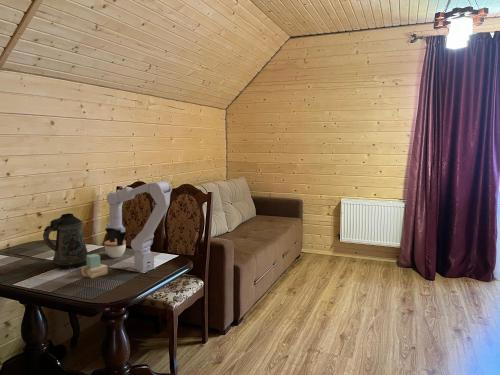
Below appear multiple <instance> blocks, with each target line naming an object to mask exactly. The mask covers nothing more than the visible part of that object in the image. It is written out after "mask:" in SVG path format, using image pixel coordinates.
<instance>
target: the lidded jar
mask: <svg viewBox="0 0 500 375" xmlns="http://www.w3.org/2000/svg"><path fill="white" fill-rule="evenodd" d="M103 245H104V251H105V253H106V255H107V256H108V257H109V258H112V259H117V258H120V257H122V256H123V254H124V253H126V248H127V247H126V246H127V240H125V239H124V240H123V244H122V245H121V246H118V245H117V239H116V237H115V241H114V242H110V241H109V239H108V240H105V241H104V243H103Z"/></svg>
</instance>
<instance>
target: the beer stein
mask: <svg viewBox="0 0 500 375" xmlns="http://www.w3.org/2000/svg"><path fill="white" fill-rule="evenodd" d="M49 224H50V225H49V226H47V227H45V228H44V230H43V233H42V234H43V235H42V239H43V241H44V243H45V245H46V246H47V247H48V248H49V249H51V250H52V251H53V252H54V256H53V257H52V263H53V266H54V268H55V269H58V270H76V269H79V268H81V267H82V266H86V265H87V259H86V255H90V253H89V250H88V248H87V245H86V242H85V238H84V237H85V236H84V233H83V226H84V222H83V221H82V220H81V219H80V218H78V217H76V216H75V215H74V214H73V213H70V212H69V213H64V214H61V216H60V217H58V218H55V219H52V220H51V221H50V222H49ZM52 232H56V238H55V244H54V243H53V242H52V241H51V240H50V234H51V233H52Z"/></svg>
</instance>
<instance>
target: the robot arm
mask: <svg viewBox="0 0 500 375" xmlns="http://www.w3.org/2000/svg"><path fill="white" fill-rule="evenodd" d="M172 191H173V189H172V187H171V184H170V182H169V181H167V180H161V181H153V182H148V183H145V184H142V185H139V186H137V187H135V188H133V187H130V186H124V187H123V188H122V189H117V190H116V191H112V192H110V193H108V194H107V196H106V203H108V204H109V207H108V208H109V209H108V210H109V215H108V216H109V222H107V223H106V227H107V228H105V229H104V230H105V232H106V234H107V236H108V237H107V238H108V240H109V241H110V242H114V241H115V238H116V239H117V245H118V246H121V245H122V244H123V240H125V237H126V235H127V234H128V231H126V227H124V225H123V203H124V202H127V201H129V200H133V199H135V197H136V195H139V194H144V193H147V194H150V196H151V197H152V199H153V200H154V203H156V204H155V207H153V209H152V212H151V213H150V215H149V217H148V219H147V221H146V222H145V224H144V226H143V228H142V229H141V231H140V232H139V233H137V234H136V236H135V237H134V238H133V239H132V240H131V242H130V246H131V249H132V250H133V253H134V255H133V256H134V257H133V258H134V265H131V266H130V268H131V269H133V270H135V271H138V272H140V273H144V272H148V271H150V270H151V271H152V270H155V269H157V268H156V266H155V256H154V253H152V251H151V246H152V245H153V242H154V237H155V235H154V233H155V231H156V229H157V228H158V227H159V224H160V222H161V221H162V219H163V218H164V215H165V214H166V212H167V210H168V208H169V207H170V202H171V193H172Z"/></svg>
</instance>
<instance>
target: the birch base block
mask: <svg viewBox="0 0 500 375" xmlns="http://www.w3.org/2000/svg"><path fill="white" fill-rule="evenodd" d="M100 264H101V266H100V267H95V268H89V267H88V266H87V265H86V266H82V267H80V268H81V275H82V276H84V277H86V278H87V277H88V278H90V279H94V278H98V277H100V276H105V275H107V274H108V272H109V271H108V265H107V264H102V263H100Z"/></svg>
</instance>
